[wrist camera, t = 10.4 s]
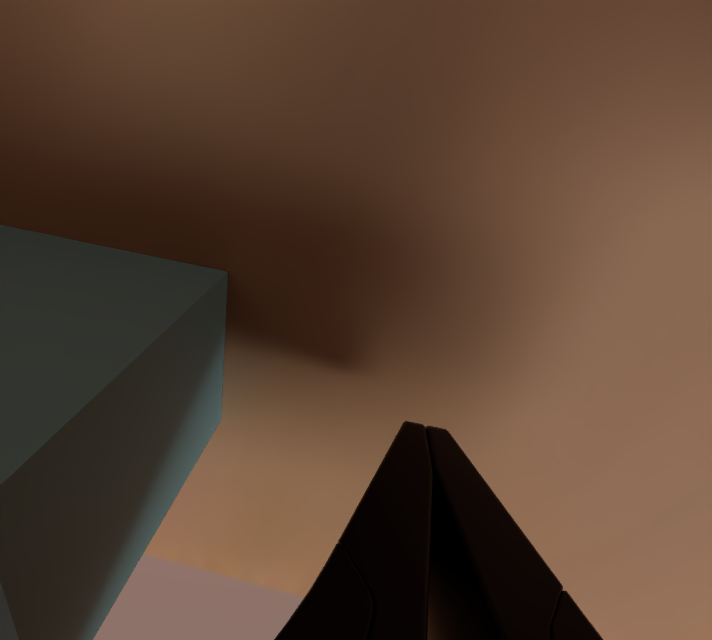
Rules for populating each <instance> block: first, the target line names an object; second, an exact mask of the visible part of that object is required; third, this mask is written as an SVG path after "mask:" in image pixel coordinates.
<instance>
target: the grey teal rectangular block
mask: <svg viewBox="0 0 712 640" xmlns="http://www.w3.org/2000/svg"><path fill="white" fill-rule="evenodd" d="M227 285H228V272H227V271H222V270H218V269H213V268H208V267H203V266H198V265H193V264H189V263H184V262H179V261H174V260H169V259H164V258H160V257H155V256H150V255H145V254H140V253H135V252H131V251H126V250H121V249H116V248H111V247H106V246H101V245H97V244H92V243H87V242H82V241H77V240H72V239H68V238H63V237H58V236H53V235H48V234H43V233H39V232H34V231H29V230H24V229H19V228H14V227H10V226H5V225H0V640H93V639H94V637H95V635H96V633H97V632H98V630H99V628H100V626H101V625H102V623H103V621H104V620H105V618H106V616H107V615H108V613H109V611H110V609H111V608H112V606H113V604H114V603H115V601H116V599H117V597H118V596H119V594H120V592H121V591H122V589H123V587H124V585H125V584H126V582H127V580H128V579H129V577H130V575H131V573H132V572H133V570H134V568H135V567H136V565H137V563H138V561H139V560H140V558H141V556H142V555H143V553H144V551H145V549H146V548H147V546H148V544H149V543H150V541H151V539H152V537H153V536H154V534H155V532H156V531H157V529H158V527H159V525H160V524H161V522H162V520H163V519H164V517H165V515H166V513H167V512H168V510H169V508H170V507H171V505H172V503H173V501H174V500H175V498H176V496H177V495H178V493H179V491H180V489H181V488H182V486H183V484H184V483H185V481H186V479H187V477H188V476H189V474H190V472H191V471H192V469H193V467H194V465H195V464H196V462H197V460H198V459H199V457H200V455H201V453H202V452H203V450H204V448H205V447H206V445H207V443H208V441H209V440H210V438H211V436H212V435H213V433H214V431H215V429H216V428H217V426H218V424H219V423H220V421H221V409H222V388H223V368H224V347H225V326H226V306H227Z"/></svg>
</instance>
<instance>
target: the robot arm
mask: <svg viewBox="0 0 712 640" xmlns="http://www.w3.org/2000/svg"><path fill="white" fill-rule="evenodd" d="M562 590H563V586H562V584H561V583H560V582H559V580H558V579H557V578H556V576H555V575H554V574H553V572H552V571H551V570H550V568H549V567H548V565H547V564H546V563H545V561H544V560H543V559H542V557H541V556H540V555H539V553H538V552H537V551H536V549H535V548H534V547H533V545H532V544H531V542H530V541H529V540H528V538H527V537H526V536H525V534H524V533H523V532H522V530H521V529H520V528H519V526H518V525H517V524H516V522H515V521H514V519H513V518H512V517H511V515H510V514H509V513H508V511H507V510H506V509H505V507H504V506H503V505H502V503H501V502H500V501H499V499H498V498H497V497H496V495H495V494H494V492H493V491H492V490H491V488H490V487H489V486H488V484H487V483H486V482H485V480H484V479H483V478H482V476H481V475H480V474H479V472H478V471H477V469H476V468H475V467H474V465H473V464H472V463H471V461H470V460H469V459H468V457H467V456H466V455H465V453H464V452H463V451H462V449H461V448H460V446H459V445H458V444H457V442H456V441H455V440H454V438H453V437H452V436H451V434H450V433H449V432H448V431H447V430H446V429H442V428H437V427H433V426H427V427H425V426H424V425H422V424H418V423H413V422H409V421H405V422H404V423H403V424H402V426H401V428H400V430H399V432H398V433H397V435H396V437H395V439H394V441H393V442H392V444H391V446H390V448H389V450H388V452H387V453H386V455H385V457H384V459H383V461H382V463H381V464H380V466H379V468H378V470H377V472H376V473H375V475H374V477H373V479H372V481H371V483H370V484H369V486H368V488H367V490H366V492H365V494H364V495H363V497H362V499H361V501H360V503H359V504H358V506H357V508H356V510H355V512H354V514H353V515H352V517H351V519H350V521H349V523H348V524H347V526H346V528H345V530H344V532H343V534H342V535H341V537H340V539H339V541H338V543H337V544H336V546H335V548H334V549H333V551H332V553H331V555H330V557H329V559H328V560H327V562H326V564H325V566H324V567H323V569H322V571H321V572H320V574H319V576H318V577H317V579H316V581H315V582H314V584H313V586H312V587H311V589H310V590H309V592H308V593H307V595H306V596H305V598H304V599H303V600H302V602H301V604H300V605H299V606H298V608H297V609H296V611H295V612H294V613H293V615H292V616H291V618H290V619H289V621H288V622H287V623H286V625H285V626H284V627H283V629H282V630H281V631H280V633H279V634H278V635H277V637H276V638H275V639H274V640H603V639H602V637H601V636H600V635H599V633H598V632H597V631H596V629H595V628H594V627H593V626H592V624H591V623H590V622H589V620H588V619H587V618H586V616H585V615H584V614H583V612H582V611H581V610H580V608H579V607H578V606H577V604H576V603H575V602H574V600H573V599H572V598H571V596H570V595H569V594H568V592H567V591H562Z"/></svg>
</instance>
